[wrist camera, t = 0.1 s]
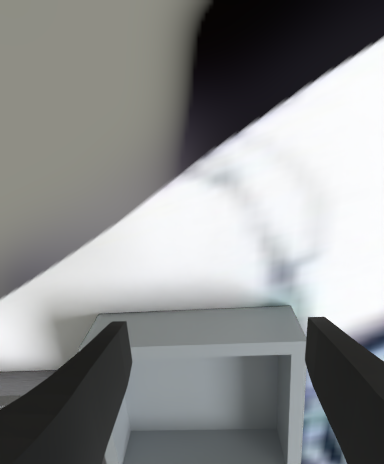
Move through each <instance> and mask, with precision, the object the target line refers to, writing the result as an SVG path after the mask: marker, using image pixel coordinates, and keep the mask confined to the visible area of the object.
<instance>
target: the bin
mask: <svg viewBox="0 0 384 464" xmlns="http://www.w3.org/2000/svg"><path fill="white" fill-rule="evenodd" d="M112 321H127V328H128V335H129V342H130V348H131V355H132V367H131V372H130V377H129V382H128V386H127V389H126V392H125V395H124V398H123V401H122V404H121V407H120V410H119V413H118V416H117V419H116V422H115V425H114V428H113V431H112V434H111V436H110V439H109V442H108V445H107V448H106V452H105V459H106V463H107V464H301V453H302V436H303V419H304V401H305V384H306V367H307V366H306V363H305V350H306V336H305V334H304V332H303V330H302V328H301V326H300V324H299V322H298V320H297V317H296V315H295V313H294V311H293V309H292V307H291V306H276V307H252V308H228V309H204V310H180V311H156V312H132V313H108V314H99V315H98V316H97V318H96V320H95V322H94V323H93V325H92V327H91V328H90V330H89V332H88V334H87V335H86V337H85V339H84V340H83V342H82V344H81V346H80V347H79V351H80V350H81V349H83V348H84V347H85V346H86V345H87V344H88V343H89V342H90V341H91V340H92V339H93V338H94V337H96V336H97V335H98V334H99V333H100V332H101V331H102V330H103V329H104V328H105V327H106V326H107V325H108V324H109V323H111V322H112Z"/></svg>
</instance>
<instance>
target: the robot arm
mask: <svg viewBox="0 0 384 464" xmlns="http://www.w3.org/2000/svg"><path fill="white" fill-rule="evenodd" d="M305 363H306V366H307V369H308V373H309V376H310V379H311V382H312V385H313V387H314V390H315V392H316V394H317V396H318V399H319V401H320V403H321V405H322V408H323V410H324V412H325V414H326V416H327V418H328V421H329V423H330V425H331V427H332V429H333V432H334V434H335V436H336V438H337V440H338V443H339V445H340V447H341V449H342V452H343V454H344V457H345V459H346V462H347V464H384V361H382V360H381V359H379V358H378V357H377V356H375V355H374V354H372V353H371V352H370V351H368V350H367V349H366V348H364V347H363V346H362V345H360V344H359V343H358V342H356V341H355V340H354V339H352V338H351V337H350V336H348V335H347V334H346V333H345V332H343V331H342V330H341V329H339V328H338V327H337V326H336V325H334V324H333V323H332V322H330V321H329V320H328V319H326V318H325V317H308V325H307V338H306V350H305ZM131 367H132V355H131V348H130V342H129V335H128V328H127V321H112V322H111V323H109V324H108V325H107V326H106V327H105V328H104V329H103V330H102V331H101V332H100V333H99V334H98V335H97V336H96V337H94V338H93V339H92V340H91V341H90V342H89V343H88V344H87V345H86V346H85V347H84V348H83V349H81V350H80V351H79V352H78V353H77V354H76V355H75V356H74V357H72V358H71V359H70V360H69V361H68V362H66V363H65V364H64V365H63V366H62V367H61V368H59V369H58V370H57V371H56V372H54V373H53V374H52V375H51V376H49V377H48V378H47V379H45V380H44V381H43V382H41V383H40V384H39V385H37V386H36V387H34V388H33V389H32V390H30V391H29V392H27V393H26V394H24V395H23V396H21V397H20V398H18V399H16V400H15V401H13V402H12V403H10V404H8V405H7V406H5V407H4V408H2V409H1V410H0V464H102V462H103V458H104V455H105V452H106V448H107V445H108V442H109V439H110V436H111V434H112V431H113V428H114V425H115V422H116V419H117V416H118V413H119V410H120V407H121V404H122V401H123V398H124V395H125V392H126V389H127V386H128V382H129V377H130V372H131Z"/></svg>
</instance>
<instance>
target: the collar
mask: <svg viewBox="0 0 384 464" xmlns="http://www.w3.org/2000/svg"><path fill="white" fill-rule="evenodd" d="M56 371H57V370H55V371H20V372H0V405H8V404H10V403H12V402H13V401H15V400H16V399H18V398H20V397H21V396H23V395H24V394H26V393H27V392H29V391H30V390H32V389H33V388H34V387H36V386H37V385H39V384H40V383H41V382H43V381H44V380H45V379H47V378H48V377H49V376H51V375H52V374H53V373H54V372H56ZM102 464H107V463H106V459H105V455H104V458H103V462H102Z"/></svg>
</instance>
